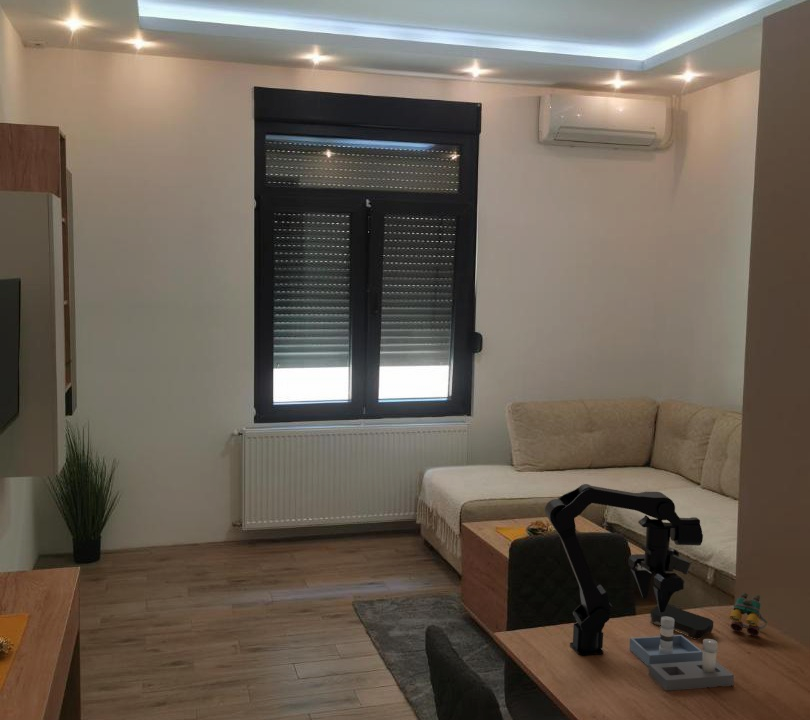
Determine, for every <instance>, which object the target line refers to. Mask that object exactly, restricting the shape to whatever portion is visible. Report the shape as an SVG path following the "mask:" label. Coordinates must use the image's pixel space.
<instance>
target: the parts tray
mask: <svg viewBox="0 0 810 720" xmlns="http://www.w3.org/2000/svg"><path fill="white" fill-rule="evenodd" d="M659 645H660V635H656V636H655V635H654V636H640V637H639V636H638V637H637V636H636V637H629V648H628V649H630V650H629V651H630V652H632V653H633V654H634V655H635V656H636V657H637V658H638V659H639V660H640V661H641V662H644V663H643V664H644V665H645V666H646V667H648V668H649V664H662V663H677V662H691V661H702V656H703V649H702V650H701V648H699V647H698V646H696V645H695V644H694V643H693V642H692V641H690V640H689V639H688V638H687V637H685V635H683V634H673V653H663V654H659Z"/></svg>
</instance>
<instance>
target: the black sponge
mask: <svg viewBox="0 0 810 720" xmlns="http://www.w3.org/2000/svg"><path fill="white" fill-rule="evenodd" d="M649 612H650V616H649V623H651V622H652V623H654V624H653V625H656V624H657V625H656V626H659V625H661V617H664V616H667V617H672V618H674V620H675V621H674V630H677V631H679V632H682V633H684V634H686V635H688V636H687V637H689V638H690V637H692V638H691V639H694V638H695V639H694V640H699V639H702V638H704V637H705V636H706V635H708V634H709V633H712V631H713V629H714V621H713V620H712V619H711V618H708V617H705V616H702V615H699V614H695V613H693V612H689V611H688V610H683V609H681V608H679V607H678V608H677V607H675V606H672V605H670V604H667V607H666V609H665V611H664V612H659V608H658V605H656V606H655V607H654V608H653V609H651V610H650V611H649ZM652 623H651V624H652ZM686 635H685V636H686Z"/></svg>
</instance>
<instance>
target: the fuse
mask: <svg viewBox="0 0 810 720" xmlns="http://www.w3.org/2000/svg"><path fill="white" fill-rule="evenodd" d="M718 643H719V642H718V641H716V639H712V638H704V639H703V640H702V651H703V656H702V669H701V670H703V671H704V672H705V673H712V672H716V671H715V668H716V661H717V652H718Z"/></svg>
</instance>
